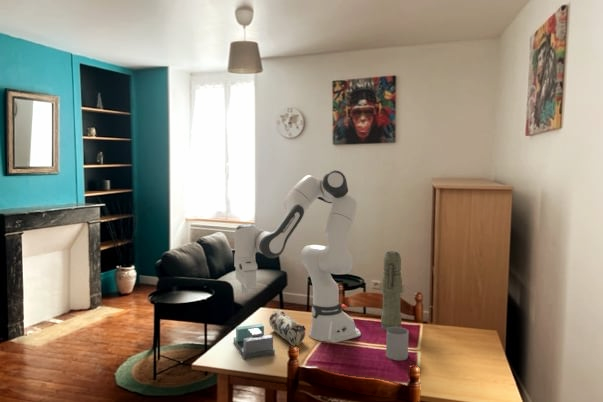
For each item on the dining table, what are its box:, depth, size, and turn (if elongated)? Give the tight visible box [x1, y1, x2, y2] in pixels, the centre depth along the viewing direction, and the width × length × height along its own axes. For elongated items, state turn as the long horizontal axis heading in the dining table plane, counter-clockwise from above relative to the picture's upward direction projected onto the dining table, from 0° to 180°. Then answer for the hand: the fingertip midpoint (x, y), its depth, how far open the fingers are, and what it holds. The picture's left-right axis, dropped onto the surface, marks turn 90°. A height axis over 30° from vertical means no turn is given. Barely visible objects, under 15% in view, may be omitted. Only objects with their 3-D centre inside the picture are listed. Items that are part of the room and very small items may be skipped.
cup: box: [385, 326, 409, 361], centre depth 170 cm, size 8×8×10 cm
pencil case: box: [268, 309, 307, 346], centre depth 189 cm, size 22×8×10 cm, turn 27°
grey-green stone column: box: [380, 250, 403, 332], centre depth 197 cm, size 9×12×35 cm
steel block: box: [248, 328, 262, 338], centre depth 174 cm, size 4×6×6 cm, turn 22°
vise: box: [233, 334, 276, 361], centre depth 176 cm, size 12×18×7 cm, turn 22°
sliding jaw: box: [235, 323, 265, 342], centre depth 181 cm, size 11×3×5 cm, turn 112°
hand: (245, 294), depth 187 cm, fingers closed
